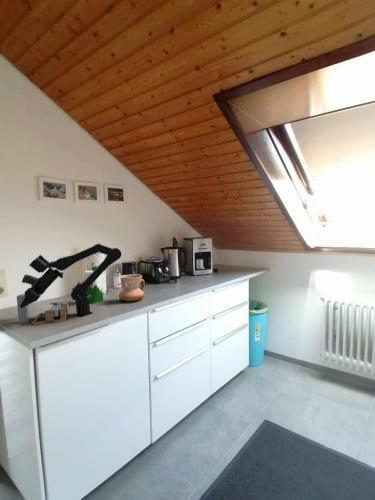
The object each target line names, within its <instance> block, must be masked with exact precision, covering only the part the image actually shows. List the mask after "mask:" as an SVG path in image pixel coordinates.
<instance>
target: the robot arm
mask: <svg viewBox="0 0 375 500" xmlns="http://www.w3.org/2000/svg"><path fill="white" fill-rule="evenodd" d="M97 253H100V254H104V255H106V256H105V257H104V259H103V261H101V263H99V265H97V266H98V267H97V268H96V269H95V270H94V271H93V272H92V273H91V274H90V275H89V276H88V277H87V278H86V280H85V279H84V280H83V281H82V282H80V281H78V282H77V283H76V284H75V286H73V287H72V288H71V292H70V297H71V299H72V300H74V301H75V311H76V313H75V312H74V313H73V315H74V316H78V317H85V316H88V315H91V314H93V313H94V312H93V311H91V307H90V304H91V303H89V301H88V298H89V295H88V294H86V292H87V290H88V288H89V287H90V286H91V285H92V284H93V282H94V281H95V280H96V279H97V278H98V277H99V276H100V275H101V274H102V275H103V273H104V272H105V271H106V270H107V268H108V267H110V266H111V265H113V264H114V263H115V262H117V261H118V260H120V258H121V257H122V252H121V250H120V249H119V248H118V247H112V248H111V247H108V246H106V245H103V244H101V243H96V244H95V245H93V246H90V247H88V248H86V249H83V250H81V251H79V252H77V253H74V254H70V255H66V256H63V257H59V258H58V259H56V260H54V261H49V260H47V259H46V258H45V257H44V256H43V255H42V254H39V255H38V256H37V257H36V258H35V259H34V260H32V261H31V263H30V264H29V265H28V266H29V267H30V268H32V269H34V271H36V272H37V273H39V274H40V273H41V274H42V275H41V276H39V277H36V276H33V275H29V274H28V273H27V274H24V275H23V277H22V280H21V282H22V283H23V284H28V285H30V287H28V288H27V289H26V290H25V291H24V293H23V294H25V298H24V300H23V302H22V303H21V305H20V308H23V307H25V306H27V305H30V304H34V303H35V302H37V301H38V300H39V298H41V296H42V295H43V294H45V292H46V291H47V289H49V287H50V286H51V285H52V284H53V283H54V282H55V281H56V280H57V279H58V278H60V279H63V278H64V271H65V270H67V269H68V268H70V267H71V266H72V265H74V264H76V263H78V262H79V261H82V260H83V259H85V258H88V257H91V256H92V255H95V254H97Z"/></svg>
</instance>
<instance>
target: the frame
mask: <svg viewBox="0 0 375 500" xmlns="http://www.w3.org/2000/svg"><path fill="white" fill-rule="evenodd" d="M49 304H54V305H59V304H58V301H57V302H50V303H49ZM69 312H70V311H69V302H68V301H64V302H63V303H62V304H61V309H60V314H59V316H60V318H59V319H55V316H54V313H53V310H46V311H45V312H38V314H37V316H36V317H35V318H34V320H33V321H32V326H36V325H43V324H53V323H59V322H65V321H66V320H67V319H68V318H67V317H68V315H69ZM41 316H45V320H42V321H41V320H40V321H38V320H39V319H40V318H41Z"/></svg>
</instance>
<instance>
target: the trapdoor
mask: <svg viewBox="0 0 375 500" xmlns="http://www.w3.org/2000/svg"><path fill="white" fill-rule="evenodd" d="M61 307H62V304H58V305H54V304H50V303H49V304H48V303H47V304H39V306H38V307H37V308H36V309H35V311H34V312H35V313H45V311H46V310H53V313H54V317H59V316H60V309H61Z"/></svg>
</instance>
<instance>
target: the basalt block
mask: <svg viewBox="0 0 375 500" xmlns="http://www.w3.org/2000/svg"><path fill="white" fill-rule="evenodd" d="M24 298H25V294H24V293H21V294H18V295H16V303H17V304H16V305H17V316H18V324H25V323H29V321H30V320H31V319H30V307H29V305H30V304H29V305H27V306H25V307H23V308H20V305H21V303H22V302H23V300H24Z"/></svg>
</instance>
